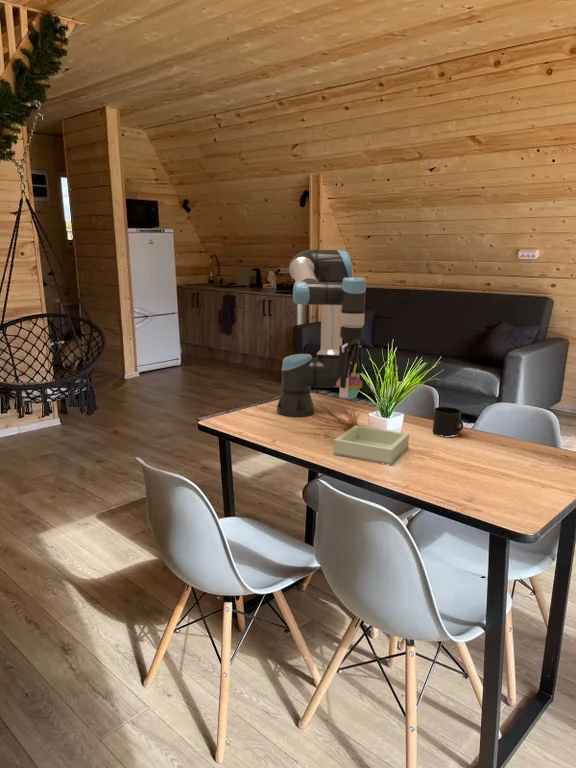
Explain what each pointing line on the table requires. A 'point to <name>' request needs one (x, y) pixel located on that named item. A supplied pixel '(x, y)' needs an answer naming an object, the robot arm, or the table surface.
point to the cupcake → (352, 384)
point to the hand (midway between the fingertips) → (349, 394)
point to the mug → (447, 421)
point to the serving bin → (371, 444)
